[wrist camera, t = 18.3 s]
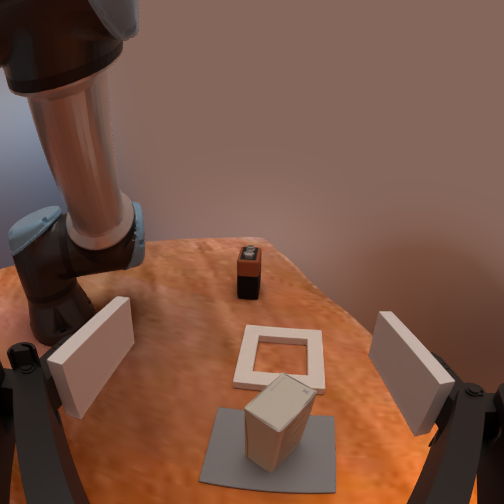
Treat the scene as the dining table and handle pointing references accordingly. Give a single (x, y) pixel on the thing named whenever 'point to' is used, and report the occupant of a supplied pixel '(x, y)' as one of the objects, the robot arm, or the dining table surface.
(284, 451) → the skincare box
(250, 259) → the battery
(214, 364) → the dining table surface
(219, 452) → the grey mat
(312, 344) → the white square frame
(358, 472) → the dining table surface
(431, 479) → the robot arm
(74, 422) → the dining table surface
